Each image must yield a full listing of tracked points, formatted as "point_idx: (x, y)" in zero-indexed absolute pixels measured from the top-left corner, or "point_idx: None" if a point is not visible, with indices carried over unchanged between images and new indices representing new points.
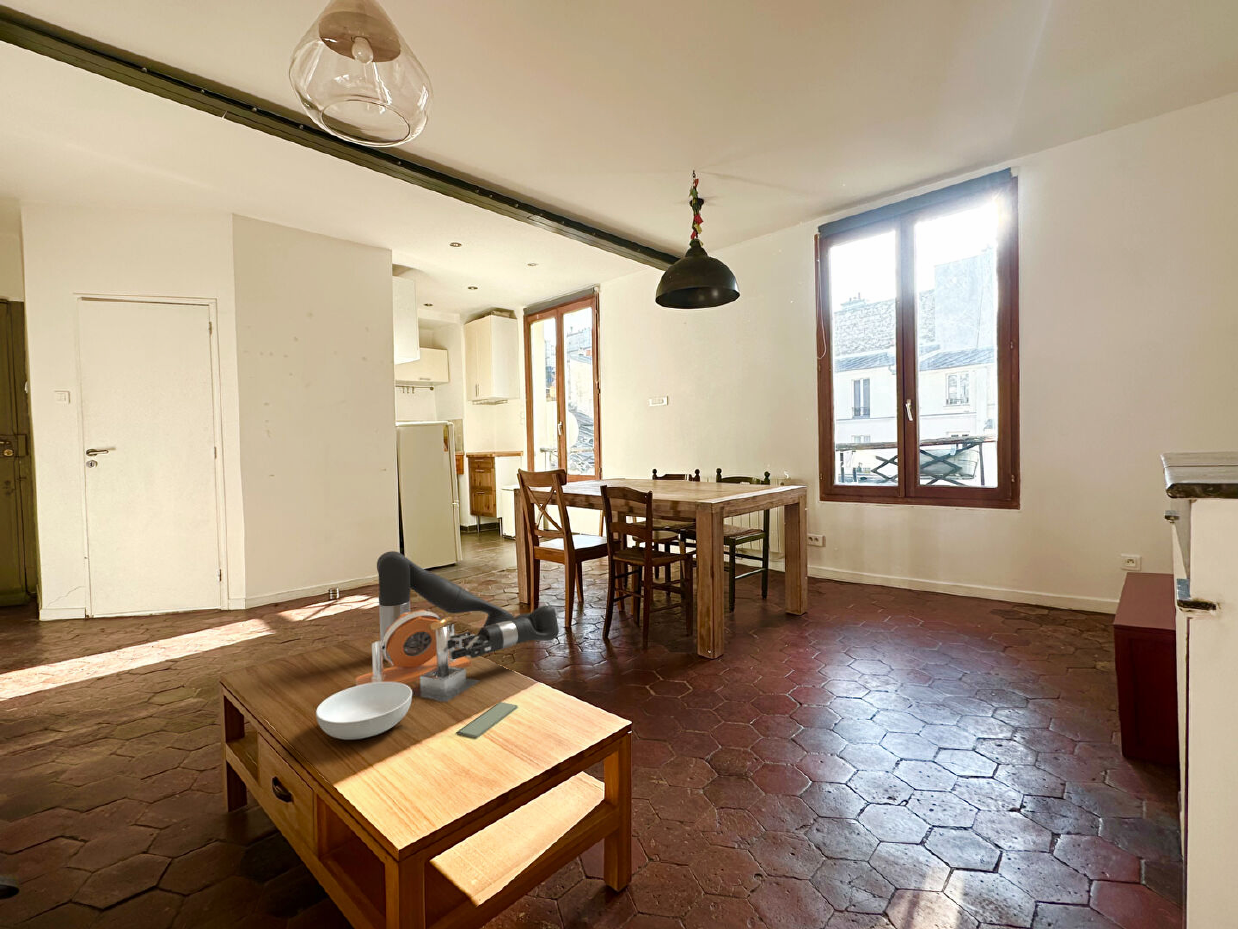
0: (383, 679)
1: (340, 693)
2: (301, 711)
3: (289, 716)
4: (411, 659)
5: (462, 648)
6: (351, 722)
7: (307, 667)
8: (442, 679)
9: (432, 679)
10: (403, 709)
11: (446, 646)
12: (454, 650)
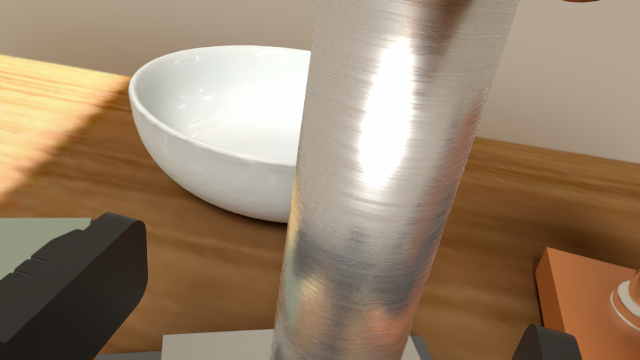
0: (621, 316)
1: None
2: (558, 181)
3: (541, 164)
4: None
5: (14, 305)
6: (207, 47)
7: None
8: (197, 345)
9: None
10: (132, 112)
11: (289, 232)
12: (110, 230)
